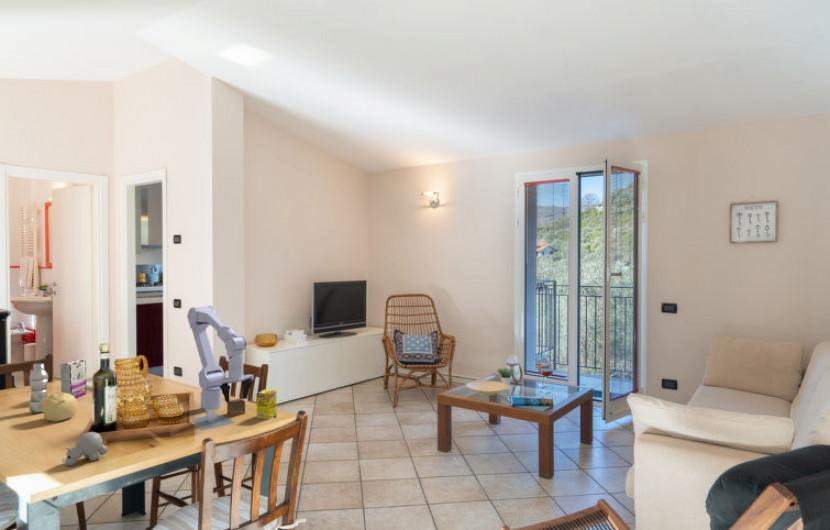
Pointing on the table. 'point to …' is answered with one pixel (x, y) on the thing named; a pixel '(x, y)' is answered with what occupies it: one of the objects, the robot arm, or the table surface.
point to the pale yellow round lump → (59, 406)
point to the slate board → (218, 422)
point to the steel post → (210, 415)
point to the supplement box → (266, 404)
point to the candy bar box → (74, 377)
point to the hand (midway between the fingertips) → (236, 399)
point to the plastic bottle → (38, 387)
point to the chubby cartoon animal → (86, 448)
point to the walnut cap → (236, 407)
